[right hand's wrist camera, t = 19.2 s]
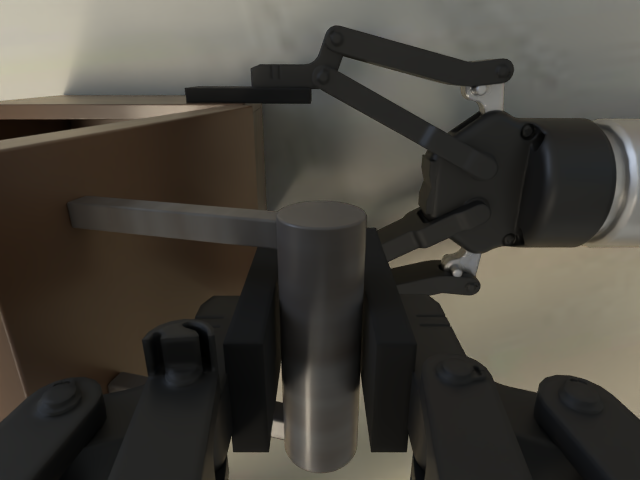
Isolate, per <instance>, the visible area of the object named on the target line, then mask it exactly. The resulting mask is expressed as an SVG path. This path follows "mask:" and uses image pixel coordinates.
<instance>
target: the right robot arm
mask: <svg viewBox="0 0 640 480" xmlns="http://www.w3.org/2000/svg"><path fill="white" fill-rule="evenodd" d="M142 344H143V350H144V356H145V361H146V367H147V373H148V378H147V381H146V383H145V384H143V385H141V386H138V387H134V388H131V389H127V390H122V391H117V392H113V393H108V394H103V392H102V388H101V385H100V384H99V383H98V382H97V381H96V380H94V379H90V378H87V377H70V378H66V379H63V380H58V381H55V382H53V383H51V384H48V385H46V386H44V387H42V388H40V389H38V390H37V391H36V392H34V393H33V394H31V395H30V396H29V397H27V398H26V399H25V400H24V401H23V402H22V403H21V404H20V405H19V406H17V407H16V408H15V409H14V410H13V411H12V412H11V413H10V414H9V415H8V416H7V417H6V418H4V419H3V420H2V421H1V422H0V480H228V476H229V468H228V458H227V452H228V448H229V444H230V440H231V436H232V444H233V452H269V447H270V440H271V432H272V425H273V417H274V410H275V402H276V395H277V388H278V380H279V373H280V365H281V336H280V310H279V283H278V257H277V249H270V248H261V247H257V250H256V253H255V255H254V258H253V261H252V264H251V267H250V269H249V272H248V275H247V278H246V281H245V283H244V286H243V289H242V292H241V295H240V296H212V297H211V298H209V299H208V300H207V301H206V302H204V303H203V304H202V305H201V306H200V308H199V310H198V312H197V314H196V316H195V319H181V320H174V321H170V322H167V323H164V324H161V325H159V326H157V327H155V328H154V329H152V330H151V331H149V332H148V333H147V334H146V335H145V337H144V338H143V339H142ZM360 373H361V380H362V388H363V395H364V402H365V410H366V417H367V425H368V432H369V440H370V447H371V452H407V444H408V434H409V438H410V442H411V446H412V450H413V458H412V468H411V477H410V480H640V419H639V418H637V417H636V416H635V415H634V414H633V413H632V412H631V411H630V410H629V409H628V408H626V407H625V406H624V405H623V404H622V403H621V402H620V401H619V400H618V399H617V398H616V397H614V396H613V395H612V394H611V393H609V392H608V391H606V390H605V389H604V388H602V387H601V386H599V385H596V384H594V383H592V382H590V381H588V380H585V379H582V378H577V377H574V376H568V375H554V376H551V377H547V378H545V379H544V380H543V381H542V382H541V383H540V384H539V388H538V392H537V393H536V392H531V391H527V390H522V389H517V388H513V387H509V386H505V385H502V384H499V383H496V382H494V380H493V378H492V376H491V374H490V373H489V371H488V370H487V368H486V367H485V366H483V365H482V364H480V363H479V362H478V361H476V360H474V359H472V358H469V357H467V356H466V354H465V353H464V351H463V349H462V347H461V345H460V343H459V341H458V339H457V337H456V335H455V333H454V331H453V329H452V327H450V323H449V321H448V320H447V318H446V317H445V314H444V312H443V310H442V308H441V306H440V304H439V303H438V302H436V301H435V300H434V299H432V298H431V297H430V296H429V295H427V294H399V292H398V289H397V286H396V283H395V281H394V278H393V275H392V272H391V269H390V267H389V264H388V261H387V258H386V255H385V253H384V250H383V247H382V244H381V241H380V239H379V236H378V233H377V230H376V228H366V247H365V271H364V295H363V318H362V342H361V366H360Z"/></svg>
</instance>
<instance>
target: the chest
mask: <svg viewBox="0 0 640 480" xmlns="http://www.w3.org/2000/svg"><path fill="white" fill-rule="evenodd" d="M226 105H251V106H252V107H253V124H254V142H255V161H256V180H257V199H258V210H266V211H267V204H266V182H265V160H264V138H263V116H262V103H186V95H60V96H49V97H38V98H27V99H17V100H6V101H0V140H6V139H13V138H19V137H25V136H32V135H38V134H45V133H51V132H58V131H64V130H71V129H77V128H84V127H90V126H97V125H103V124H110V123H116V122H122V121H129V120H135V119H142V118H148V117H155V116H161V115H168V114H174V113H181V112H187V111H194V110H200V109H207V108H213V107H220V106H226Z"/></svg>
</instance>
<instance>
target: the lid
mask: <svg viewBox="0 0 640 480" xmlns="http://www.w3.org/2000/svg"><path fill="white" fill-rule="evenodd" d="M366 224H367V215H366V213H365V211H364V210H362V209H361V208H359V207H357V206H354V205H351V204H347V203H342V202H334V201H308V202H301V203H296V204H292V205H288V206H286V207H283V208H282V209H280V210H279V211H266V210H258V199H257V180H256V161H255V142H254V124H253V107H252V106H251V105H226V106H220V107H213V108H207V109H200V110H194V111H187V112H181V113H174V114H168V115H161V116H155V117H148V118H142V119H135V120H129V121H122V122H116V123H110V124H103V125H97V126H90V127H84V128H77V129H71V130H64V131H58V132H51V133H45V134H38V135H32V136H25V137H19V138H13V139H6V140H0V422H1V421H2V420H3V419H4V418H6V417H7V416H8V415H9V414H10V413H11V412H12V411H13V410H14V409H15V408H16V407H17V406H19V405H20V404H21V403H22V402H23V401H24V400H25V399H26V398H27V397H29V396H30V395H31V394H33V393H34V392H36V391H37V390H38V389H40V388H42V387H44V386H46V385H48V384H51V383H53V382H55V381H58V380H63V379H66V378H70V377H87V378H90V379H94V380H96V381H97V382H98V383H99V384H100V385H101V388H102V392H103V394H108V393H113V392H117V391H122V390H127V389H131V388H134V387H138V386H141V385H143V384H145V383H146V381H147V378H148V373H147V367H146V361H145V356H144V350H143V344H142V339H143V338H144V337H145V335H146V334H147V333H148V332H149V331H151V330H152V329H154V328H155V327H157V326H159V325H161V324H164V323H167V322H170V321H174V320H181V319H195V316H196V314H197V312H198V310H199V308H200V306H201V305H202V304H203V303H204V302H206V301H207V300H208V299H209V298H211V297H212V296H240V295H241V292H242V289H243V286H244V283H245V281H246V278H247V275H248V272H249V269H250V267H251V264H252V261H253V258H254V255H255V253H256V250H257V247H261V248H270V249H277V257H278V283H279V310H280V336H281V363H282V389H283V403H282V402H277V401H276V402H275V410H274V417H273V425H272V432H271V437H273V438H277V439H282V440H284V442H285V450H286V453H287V455H288V456H289V458H290V459H291V461H292V462H293V463H294V464H296V465H297V466H298V467H300V468H302V469H304V470H306V471H310V472H315V473H327V472H332V471H336V470H338V469H340V468H342V467H344V466H345V465H346V464H347V463H348V462H349V461H350V460H351V459H352V458H353V456H354V454H355V452H356V449H357V436H358V413H359V389H360V366H361V342H362V318H363V295H364V271H365V247H366Z"/></svg>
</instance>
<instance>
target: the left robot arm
mask: <svg viewBox="0 0 640 480" xmlns="http://www.w3.org/2000/svg"><path fill="white" fill-rule="evenodd" d="M343 56H344V57H348V58H351V59H355V60H359V61H362V62H366V63H370V64H373V65H377V66H381V67H384V68H388V69H391V70H395V71H399V72H402V73H406V74H410V75H413V76H417V77H421V78H424V79H428V80H432V81H435V82H439V83H443V84H448V85H458V86H461V94H462V96H463V97H464V98H465V99H468V100H473V101H475V102H476V103H477V104H478V106H479V110H480V111H479V112H477V113H476V114H474V115H473V116H472V117H470V118H469V119H467V120H466V121H464V122H463V123H461V124H460V125H458V126H457V127H455V128H454V129H452V130H451V131H450V132H448V133H446V132H444V131H442V130H440V129H439V128H437V127H435V126H433V125H431V124H430V123H428V122H426V121H424V120H423V119H421V118H419V117H417V116H416V115H414V114H412V113H410V112H409V111H407V110H405V109H403V108H402V107H400V106H398V105H396V104H395V103H393V102H391V101H389V100H388V99H386V98H384V97H382V96H380V95H379V94H377V93H375V92H373V91H372V90H370V89H368V88H366V87H365V86H363V85H361V84H359V83H358V82H356V81H354V80H352V79H351V78H349V77H347V76H345V75H344V74H342V73H340V72H338V68H339V66H340V63H341V60H342V57H343ZM513 72H514V67H513V64H512V62H511V61H509V60H508V59H490V60H479V61H470V62H467V61H463V60H460V59H456V58H453V57H449V56H445V55H442V54H438V53H435V52H431V51H428V50H424V49H420V48H417V47H413V46H410V45H406V44H403V43H399V42H395V41H392V40H388V39H385V38H381V37H378V36H374V35H370V34H367V33H363V32H360V31H356V30H353V29H349V28H346V27H342V26H333V27H330V28H329V29H328V30H327V32H326V35H325V37H324V40H323V43H322V46H321V49H320V52H319V55H318V57H317V58H316V60H315V61H313V62H312V63H310V64H305V65H301V64H260V65H258V66H255V67H253V68H251V82H252V87H234V86H198V87H190V88H185V95H186V103H263V104H311V89H321V90H322V91H324V92H326V93H328V94H330V95H331V96H333V97H335V98H337V99H339V100H340V101H342V102H344V103H346V104H347V105H349V106H351V107H353V108H355V109H356V110H358V111H360V112H362V113H364V114H365V115H367V116H369V117H371V118H373V119H374V120H376V121H378V122H380V123H382V124H383V125H385V126H387V127H389V128H391V129H392V130H394V131H396V132H398V133H399V134H401V135H403V136H405V137H407V138H408V139H410V140H412V141H414V142H416V143H417V144H419V145H421V146H422V147H424V148H426V149H428V150H427V152H426V154H425V155H423V156H422V172H423V178H424V181H423V184H422V187H421V189H420V192H419V202H418V204H419V206H420V207H419V208H417V209H415V210H413V211H410V212H409V213H407V214H406V215H405V216H404V218H402V219H400V220H398V221H396V222H394V223H392V224H390V225H388V226H386V227H384V228H382V229H379V230H377V233H378V236H379V239H380V241H381V244H382V247H383V250H384V253H385V255H386V258H387V261H388V262H389V261H391V260H393V259H395V258H398V257H400V256H402V255H404V254H406V253H408V252H410V251H413V250H415V249H417V248H427V247H430V246H432V245H434V244H437V243H439V242H441V241H443V240H445V239H447V238H450V239H451V240H453V241H454V242H455V243H457V244H458V245H460V246H461V249H460V250H459V251H458V252H456V253H454V254H446V255H444V256H443V259H442V260H430V261H424V262H419V263H415V264H410V265H406V266H401V267H397V268H392V269H391V272H392V275H393V278H394V281H395V283H396V286H397V289H398V292H399V294H427V295H429V296H430V295H435V294H439V293H449V294H459V295H474V294H476V293H477V292H478V291H479V289H480V282H479V281H478V279H477V278H476V272H477V268H478V264H479V261H480V257H481V253H485V252H488V251H489V250H492V249H494V248H497V247H501V246H511V247H577V246H580V245H582V246H585V247H589V248H620V247H640V119H596V120H594V121H591V120H588V119H583V118H515V117H513V116H511V115H509V114H508V113H506V112H504V111H503V104H504V83H505V82H507V81H508V80H509V79H510V78H511V77H512V75H513Z"/></svg>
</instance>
